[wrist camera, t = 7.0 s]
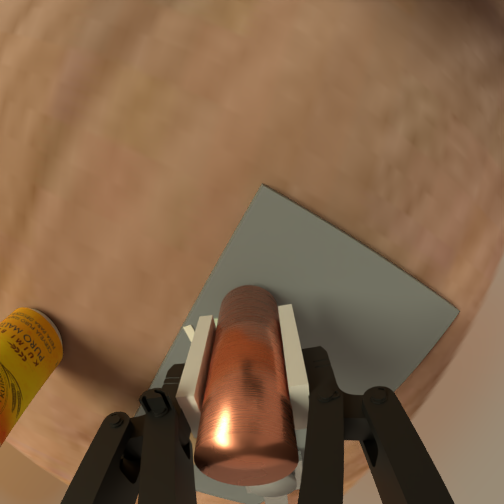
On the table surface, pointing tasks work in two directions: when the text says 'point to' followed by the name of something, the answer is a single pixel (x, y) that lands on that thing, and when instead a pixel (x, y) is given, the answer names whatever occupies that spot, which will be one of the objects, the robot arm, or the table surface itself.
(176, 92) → the table surface
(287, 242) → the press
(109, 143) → the table surface
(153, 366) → the table surface
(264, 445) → the lever
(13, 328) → the beer can
